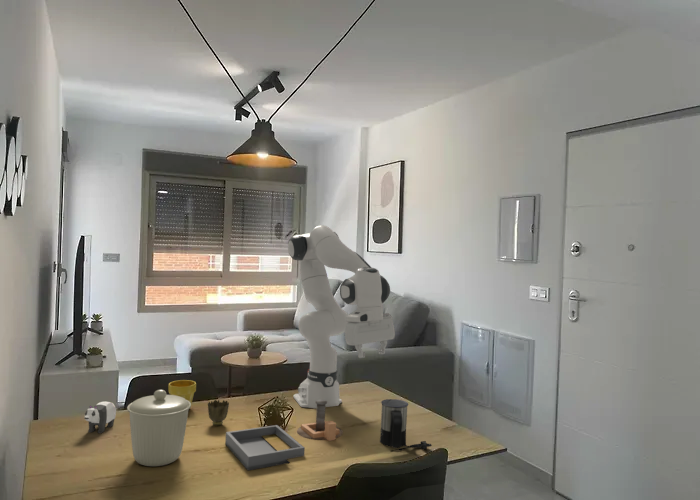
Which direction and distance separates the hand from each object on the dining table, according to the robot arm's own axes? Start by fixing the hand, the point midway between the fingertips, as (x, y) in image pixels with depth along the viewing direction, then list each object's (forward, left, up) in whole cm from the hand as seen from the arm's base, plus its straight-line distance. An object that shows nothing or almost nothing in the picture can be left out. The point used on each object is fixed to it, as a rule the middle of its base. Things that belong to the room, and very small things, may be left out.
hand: (371, 355), depth 185 cm
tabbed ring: (-10, -12, -28) cm, 32 cm away
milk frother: (+9, +9, -30) cm, 32 cm away
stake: (-12, -12, -30) cm, 34 cm away
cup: (-36, -41, -30) cm, 62 cm away
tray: (-6, -35, -30) cm, 46 cm away
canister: (-13, -66, -30) cm, 74 cm away
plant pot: (-59, -49, -30) cm, 82 cm away
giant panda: (-46, -79, -30) cm, 96 cm away
